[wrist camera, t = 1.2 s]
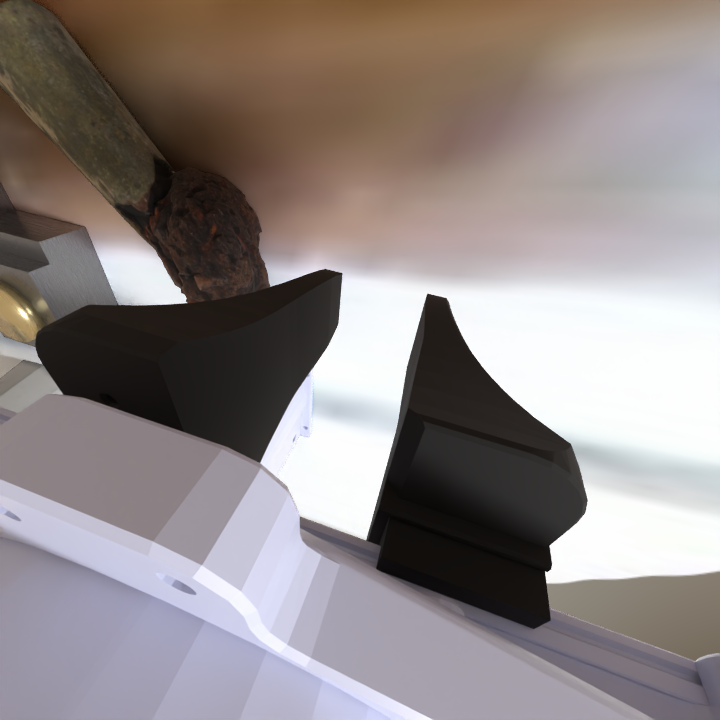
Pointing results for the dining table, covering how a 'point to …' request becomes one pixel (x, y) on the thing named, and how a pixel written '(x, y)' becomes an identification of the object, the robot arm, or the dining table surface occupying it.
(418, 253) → the dining table surface
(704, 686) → the robot arm
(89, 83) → the brown elongated piece
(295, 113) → the dining table surface
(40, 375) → the coffee maker
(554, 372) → the dining table surface
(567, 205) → the dining table surface
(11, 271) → the gray angular bracket
